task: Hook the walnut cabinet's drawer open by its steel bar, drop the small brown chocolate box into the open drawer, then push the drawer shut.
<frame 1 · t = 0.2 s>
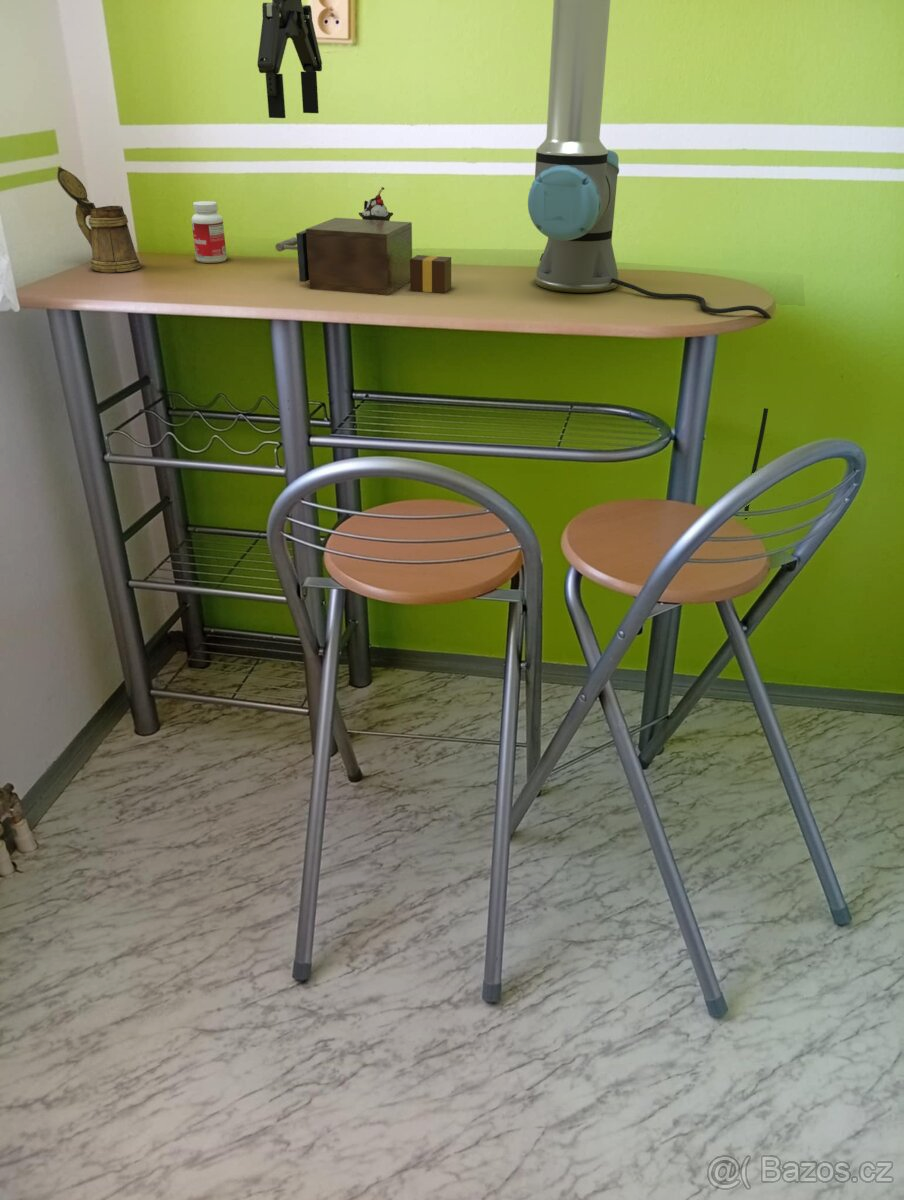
hand: (294, 115, 165), 28 cm above the table, tool pointing down, fingers open, 13 cm apart
chocolate: (430, 289, 173), on the table
sundae: (377, 268, 189), on the table
pill bottle: (211, 261, 194), on the table
cabinet: (362, 284, 176), on the table
drawer: (332, 253, 175), point 5 cm above the table, slide at 1.0 cm
wooden mug: (106, 268, 187), on the table
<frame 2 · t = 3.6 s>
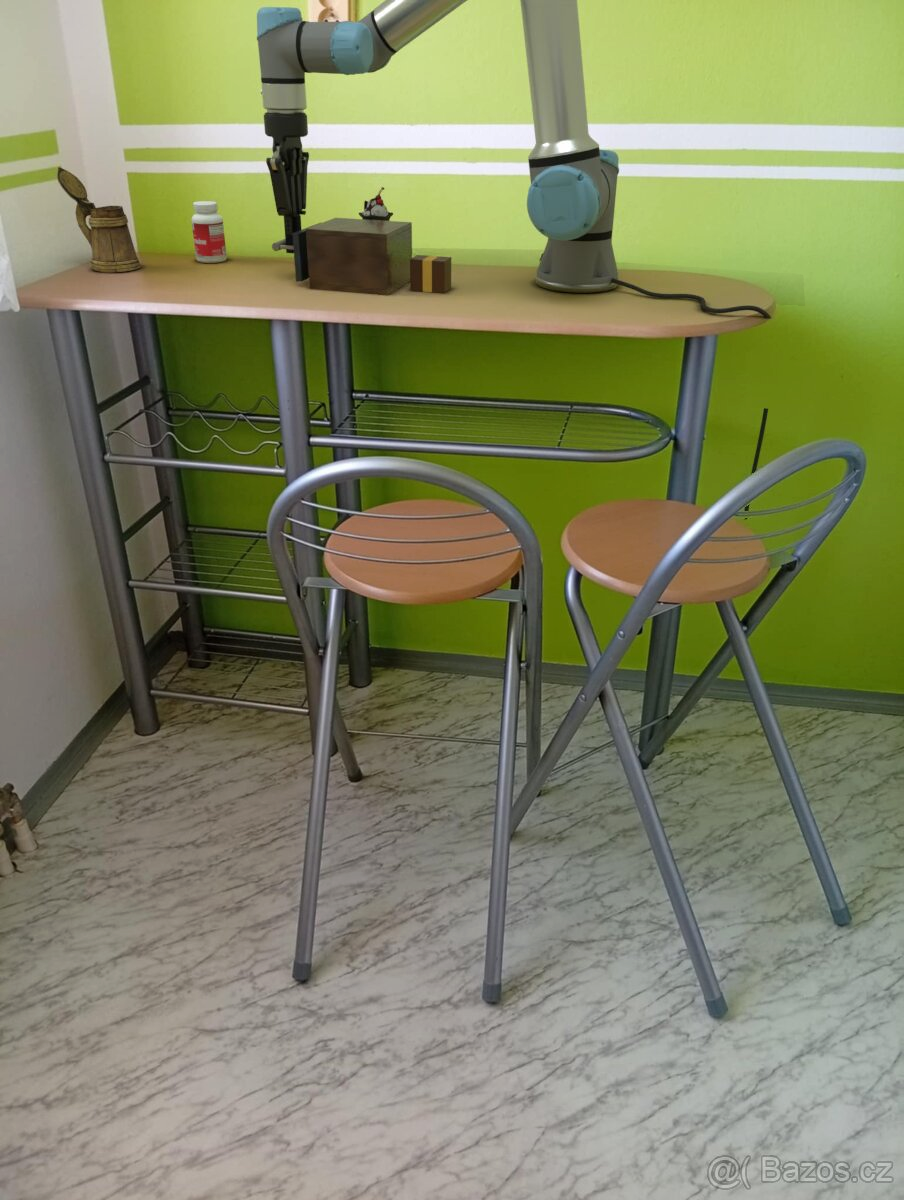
hand: (294, 252, 177), 5 cm above the table, tool pointing down, fingers closed
drawer: (328, 252, 175), point 5 cm above the table, slide at 1.7 cm, touching gripper
everything else where it was.
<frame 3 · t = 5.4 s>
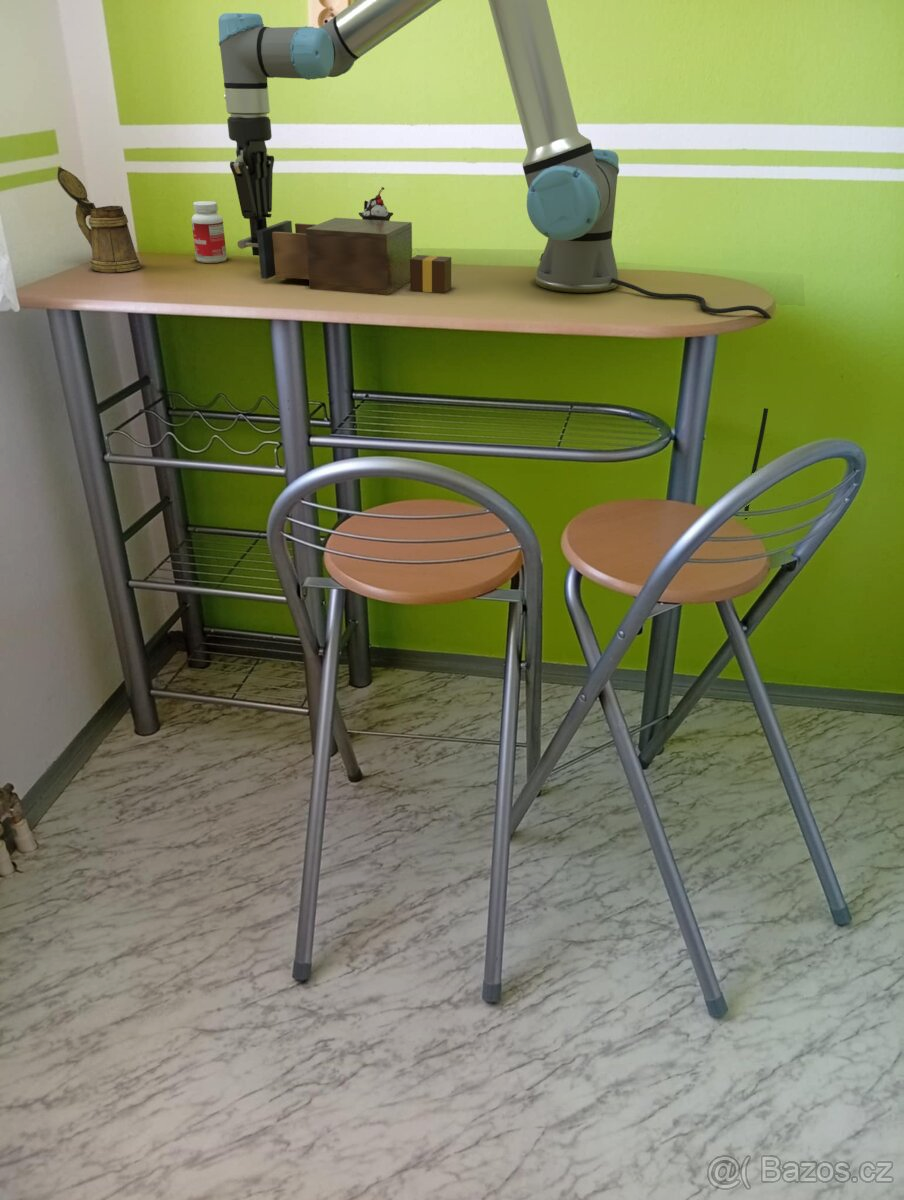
hand: (261, 254, 179), 4 cm above the table, tool pointing down, fingers closed
drawer: (293, 250, 177), point 5 cm above the table, slide at 8.8 cm
everything else where it was.
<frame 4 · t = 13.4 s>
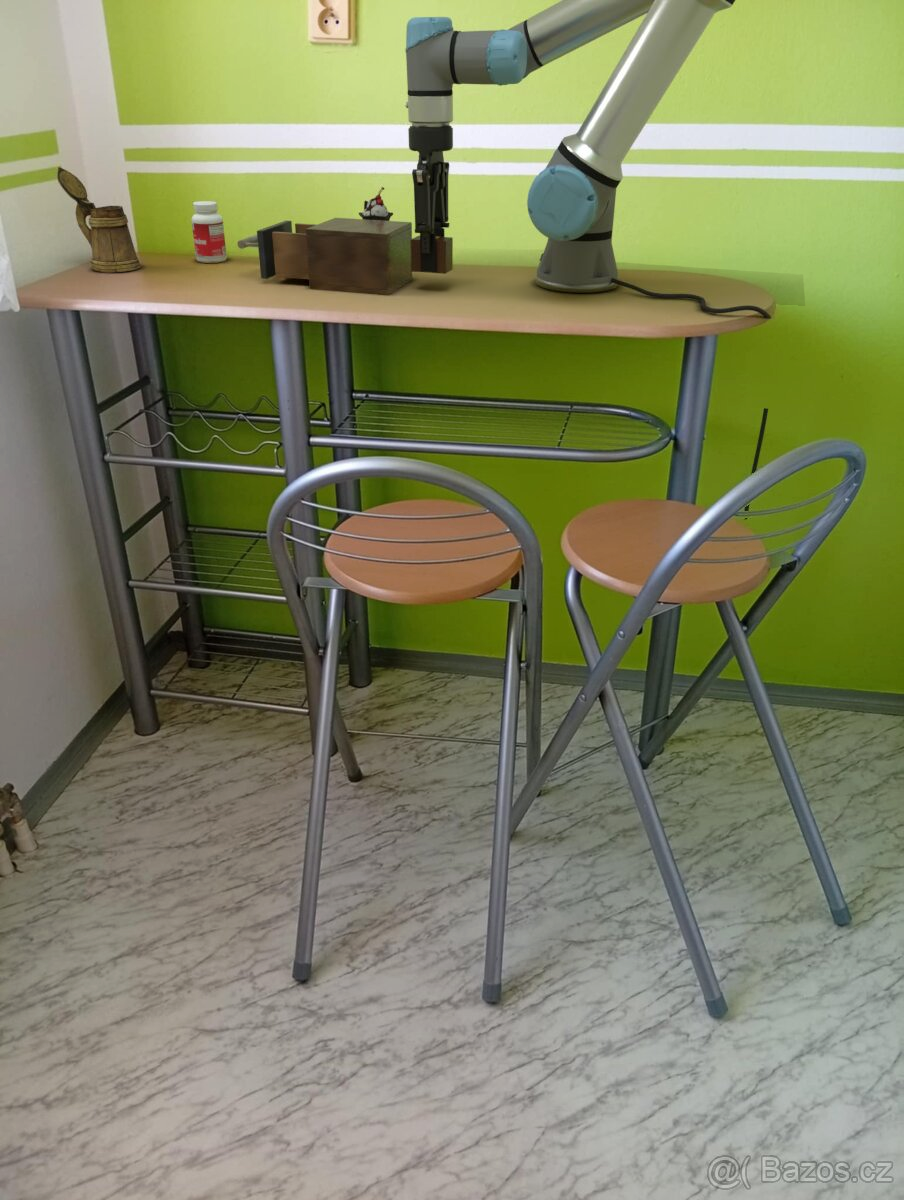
hand: (432, 268, 171), 4 cm above the table, tool pointing down, fingers closed on chocolate, 4 cm apart
chocolate: (432, 270, 171), point 3 cm above the table, touching gripper
everything else where it was.
when the fingers open (7 cm above the table, at t = 20.7 s): chocolate drops 5 cm, resting on drawer.
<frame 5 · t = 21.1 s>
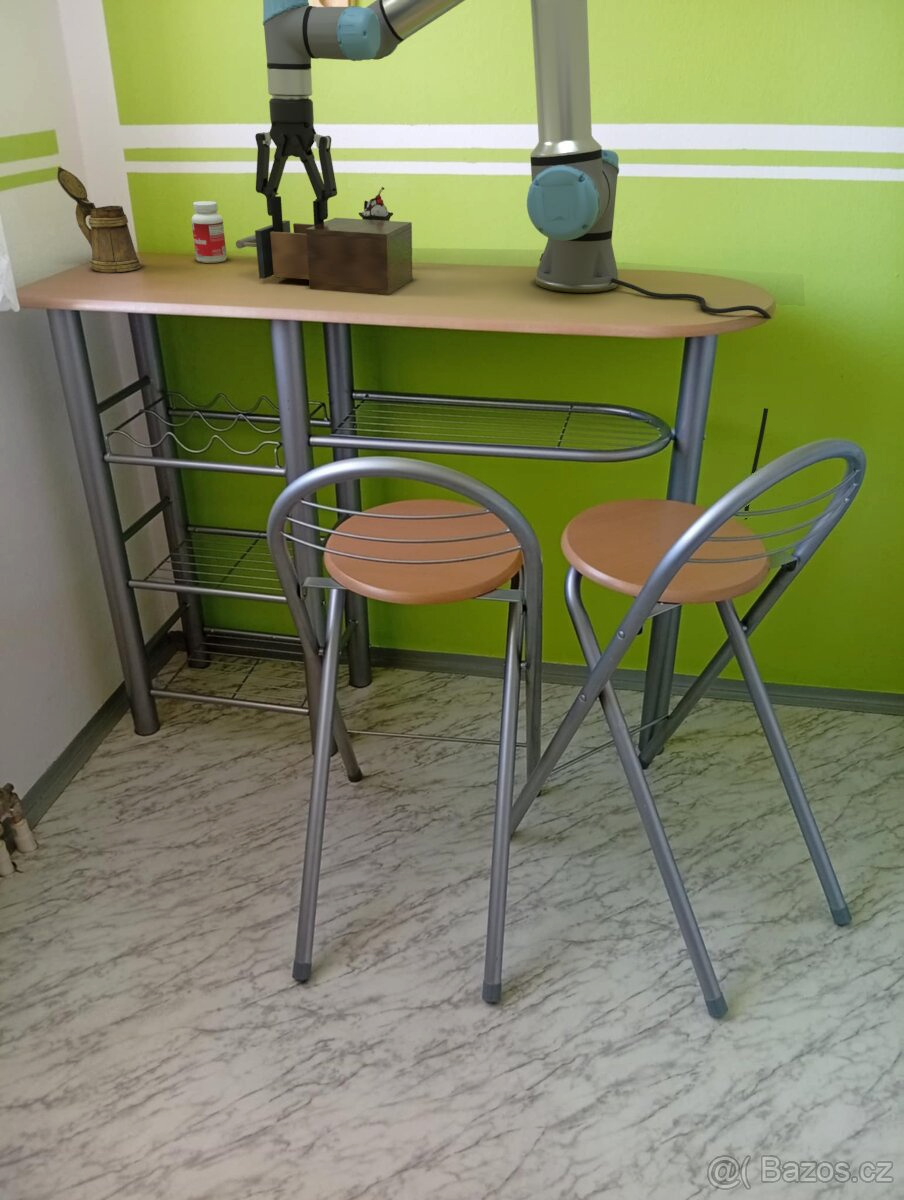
hand: (298, 236, 175), 8 cm above the table, tool pointing down, fingers open, 8 cm apart
chocolate: (302, 267, 178), point 2 cm above the table, touching drawer
drawer: (292, 250, 177), point 5 cm above the table, slide at 9.2 cm, touching chocolate
everything else where it was.
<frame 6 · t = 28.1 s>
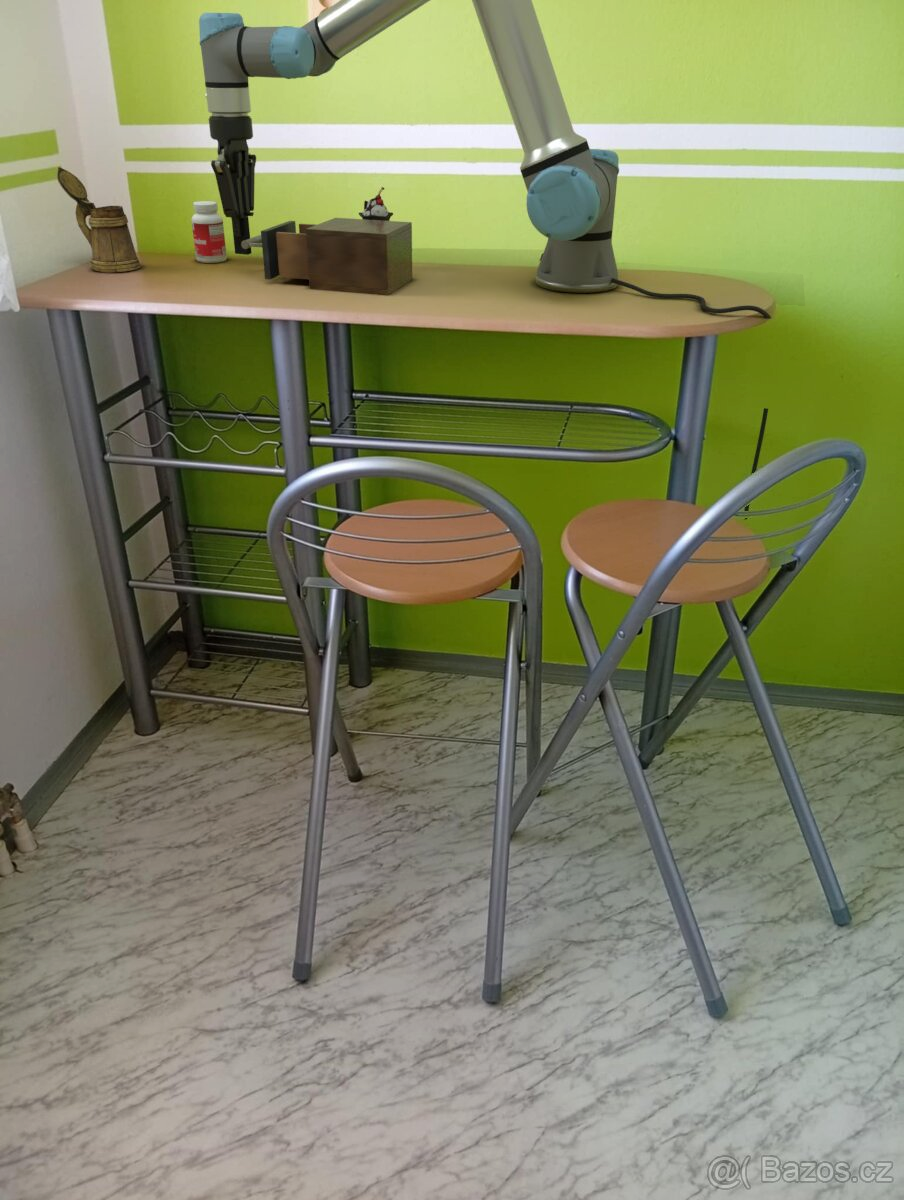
hand: (243, 253, 180), 4 cm above the table, tool pointing down, fingers closed
chocolate: (308, 268, 178), point 2 cm above the table, touching drawer
drawer: (297, 250, 177), point 5 cm above the table, slide at 8.0 cm, touching chocolate
everything else where it was.
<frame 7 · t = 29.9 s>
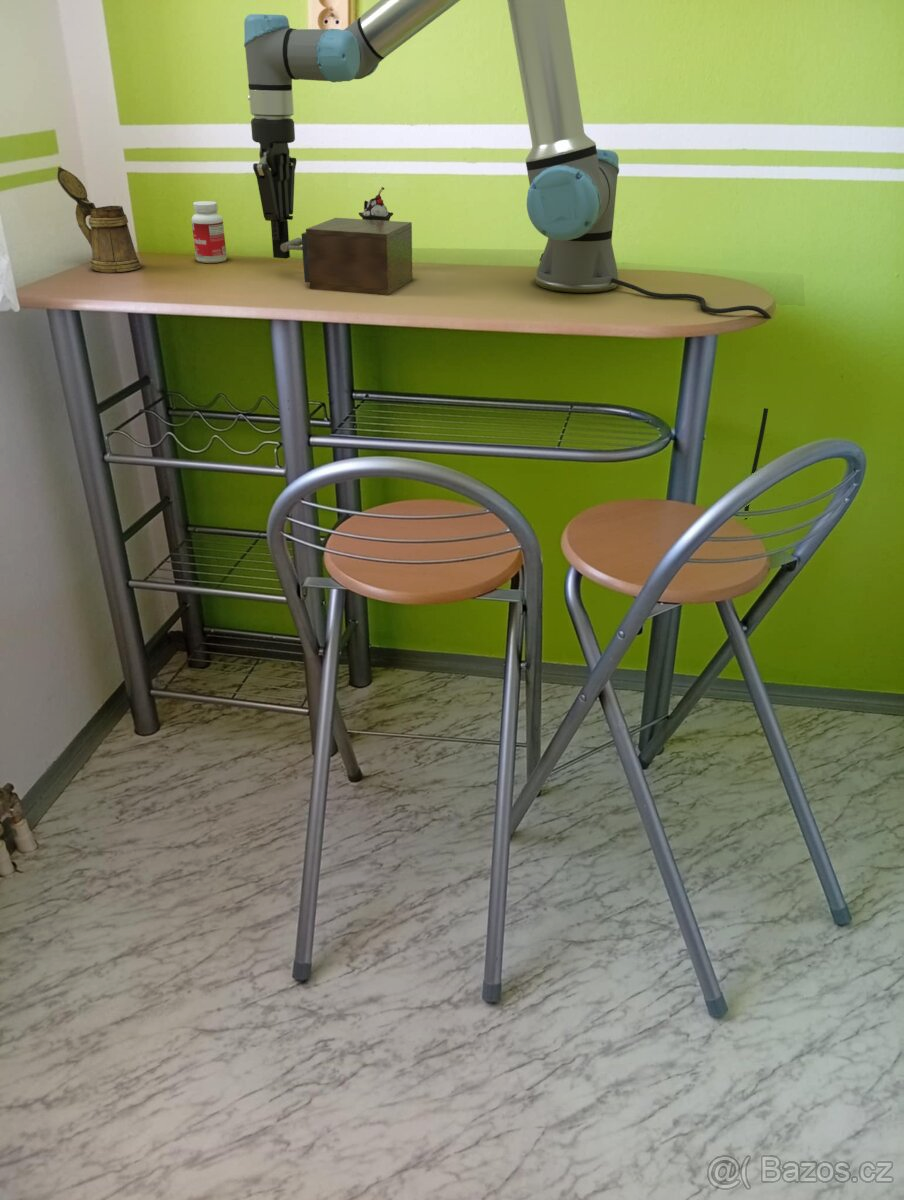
hand: (281, 257, 178), 4 cm above the table, tool pointing down, fingers closed
chocolate: (348, 271, 176), point 2 cm above the table, touching drawer
drawer: (337, 253, 175), point 5 cm above the table, slide at 0.0 cm, touching cabinet, chocolate, gripper
everything else where it was.
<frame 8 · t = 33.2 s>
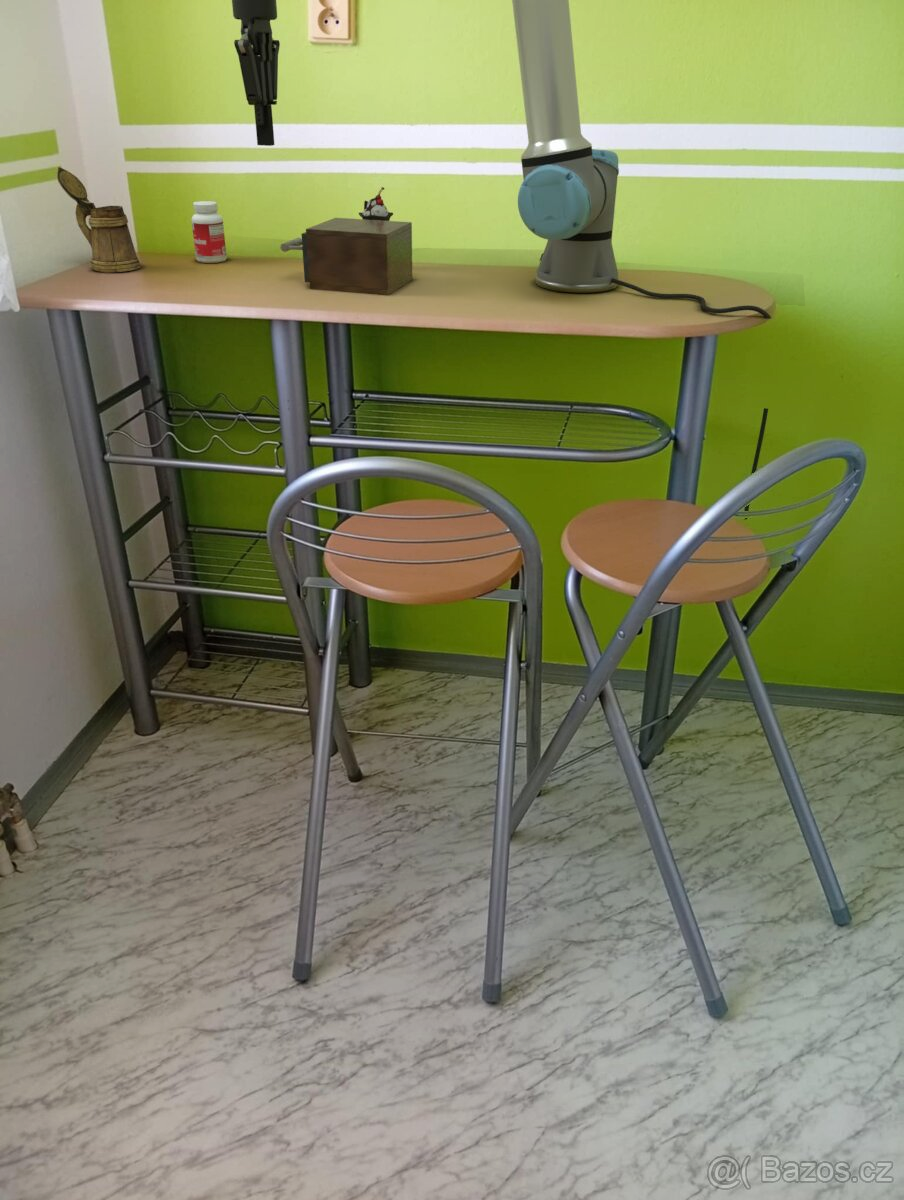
hand: (266, 145, 174), 22 cm above the table, tool pointing down, fingers closed
drawer: (337, 253, 175), point 5 cm above the table, slide at 0.0 cm, touching cabinet, chocolate
everything else where it was.
at the end: drawer pulled out 9.2 cm at the most during the clip, back to where it started at the end; chocolate inside the target area in the cabinet (2.8 cm from its centre), point 2.1 cm above the cabinet's base; drawer slide at 0.0 cm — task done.
